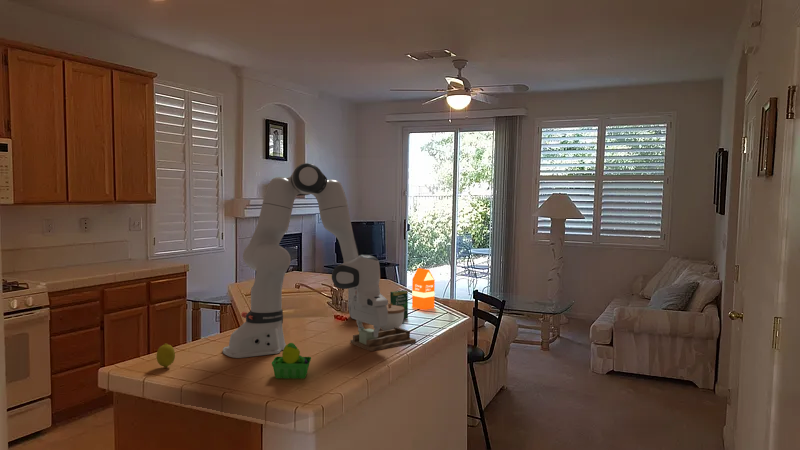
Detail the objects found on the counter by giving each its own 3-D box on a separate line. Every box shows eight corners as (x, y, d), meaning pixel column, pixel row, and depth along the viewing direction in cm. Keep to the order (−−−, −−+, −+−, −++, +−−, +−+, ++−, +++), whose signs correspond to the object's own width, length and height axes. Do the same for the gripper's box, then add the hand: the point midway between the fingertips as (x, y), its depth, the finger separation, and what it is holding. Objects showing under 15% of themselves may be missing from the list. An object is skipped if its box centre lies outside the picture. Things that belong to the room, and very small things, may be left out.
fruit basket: (311, 372, 174) (311, 337, 173) (307, 381, 165) (307, 344, 165) (275, 372, 174) (275, 337, 173) (270, 381, 165) (269, 344, 164)
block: (366, 344, 202) (366, 332, 202) (359, 341, 206) (359, 330, 206) (377, 342, 205) (377, 331, 205) (370, 340, 209) (370, 328, 209)
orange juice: (423, 305, 287) (423, 267, 286) (434, 307, 280) (434, 269, 279) (411, 307, 282) (412, 268, 281) (423, 309, 275) (423, 270, 274)
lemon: (169, 364, 181) (169, 340, 181) (178, 367, 178) (178, 343, 177) (153, 368, 177) (153, 343, 176) (161, 371, 173) (161, 346, 173)
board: (370, 351, 198) (370, 340, 198) (350, 343, 209) (350, 332, 209) (415, 342, 211) (415, 332, 211) (394, 335, 222) (394, 325, 222)
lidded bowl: (385, 324, 242) (385, 299, 241) (409, 327, 235) (409, 302, 235) (369, 330, 231) (369, 304, 230) (394, 333, 224) (394, 307, 224)
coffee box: (392, 320, 249) (392, 292, 249) (389, 319, 252) (390, 291, 251) (408, 318, 253) (408, 290, 252) (405, 317, 256) (405, 289, 255)
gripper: (346, 294, 211) (346, 330, 212) (376, 303, 195) (376, 341, 196) (360, 293, 215) (360, 327, 216) (390, 301, 199) (390, 338, 200)
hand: (368, 334), depth 206 cm, fingers open, 8 cm apart
